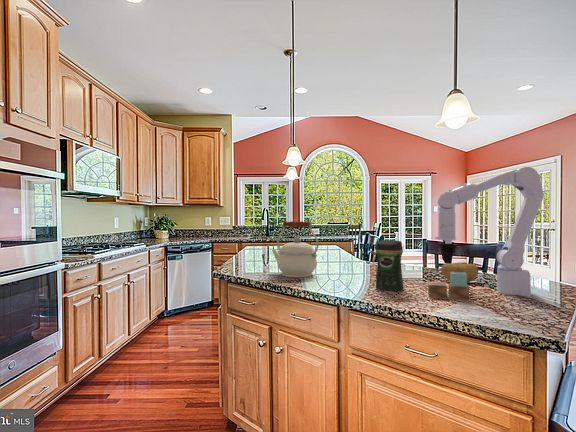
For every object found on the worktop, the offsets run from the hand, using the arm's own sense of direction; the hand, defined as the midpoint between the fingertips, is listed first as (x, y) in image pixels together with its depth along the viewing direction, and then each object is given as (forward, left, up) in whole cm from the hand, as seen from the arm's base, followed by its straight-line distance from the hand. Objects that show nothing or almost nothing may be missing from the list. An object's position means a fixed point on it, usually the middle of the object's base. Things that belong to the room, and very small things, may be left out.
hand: (446, 262), depth 128 cm
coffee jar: (+20, +7, -11) cm, 24 cm away
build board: (-2, +13, -10) cm, 16 cm away
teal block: (-2, +14, -6) cm, 15 cm away
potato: (-6, -18, -11) cm, 22 cm away
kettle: (+64, -12, -11) cm, 66 cm away
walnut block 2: (-2, +14, -10) cm, 17 cm away
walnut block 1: (+4, +14, -10) cm, 17 cm away
